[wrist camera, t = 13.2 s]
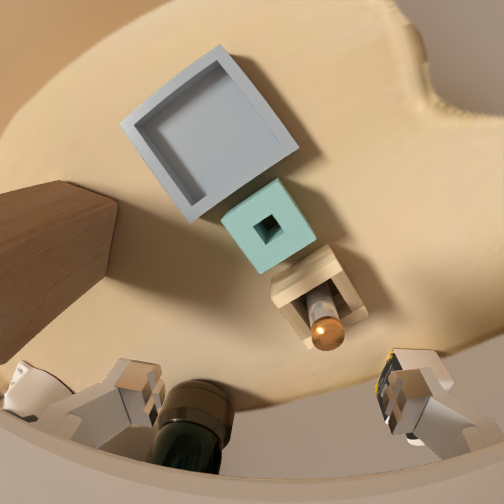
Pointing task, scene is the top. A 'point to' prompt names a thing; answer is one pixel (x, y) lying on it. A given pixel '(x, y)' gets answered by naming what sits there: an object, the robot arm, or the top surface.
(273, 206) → the narrow bore block
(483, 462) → the robot arm
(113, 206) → the block
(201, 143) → the tray
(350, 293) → the wide bore block
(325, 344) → the cylinder
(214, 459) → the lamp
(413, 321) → the top surface
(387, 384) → the medicine bottle
